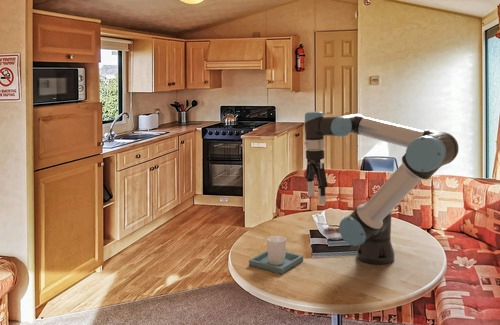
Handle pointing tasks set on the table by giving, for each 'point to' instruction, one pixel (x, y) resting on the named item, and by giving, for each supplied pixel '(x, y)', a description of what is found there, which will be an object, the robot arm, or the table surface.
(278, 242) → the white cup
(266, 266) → the slate tray
